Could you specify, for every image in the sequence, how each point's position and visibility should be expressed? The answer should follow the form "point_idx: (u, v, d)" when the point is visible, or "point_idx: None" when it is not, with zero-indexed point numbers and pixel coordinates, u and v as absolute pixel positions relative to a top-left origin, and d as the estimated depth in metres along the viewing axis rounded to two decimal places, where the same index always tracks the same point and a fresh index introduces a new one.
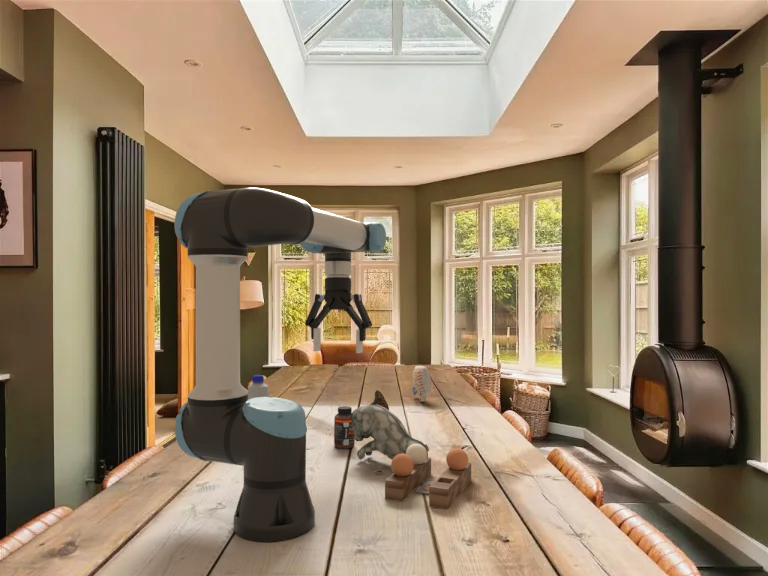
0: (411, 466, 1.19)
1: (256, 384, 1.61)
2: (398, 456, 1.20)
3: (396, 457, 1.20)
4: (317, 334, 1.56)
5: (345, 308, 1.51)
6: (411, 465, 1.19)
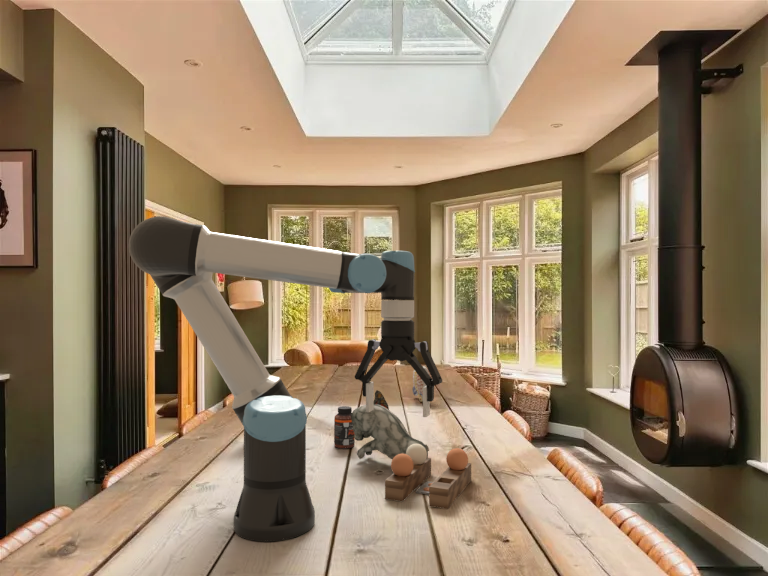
0: (411, 466, 1.19)
1: None
2: (398, 456, 1.20)
3: (396, 457, 1.20)
4: (370, 390, 1.25)
5: (408, 360, 1.20)
6: (411, 465, 1.19)
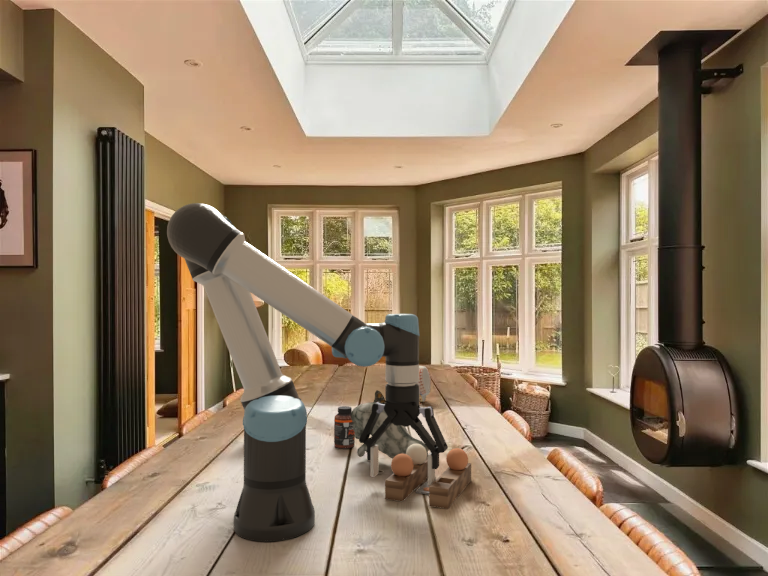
0: (411, 466, 1.19)
1: None
2: (398, 456, 1.20)
3: (396, 457, 1.20)
4: (375, 454, 1.23)
5: (413, 426, 1.18)
6: (411, 465, 1.19)
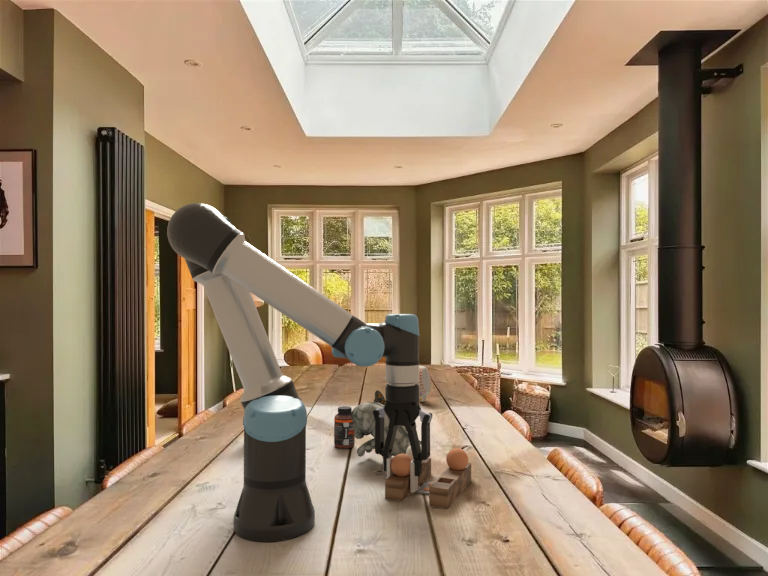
0: None
1: None
2: (398, 456, 1.20)
3: (396, 457, 1.20)
4: None
5: (407, 428, 1.18)
6: None
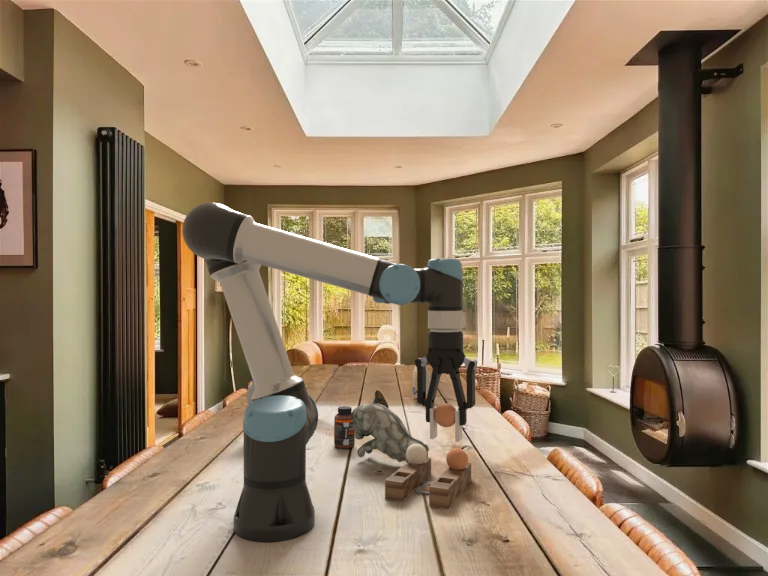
0: None
1: None
2: (442, 405, 1.16)
3: (440, 406, 1.16)
4: None
5: (452, 376, 1.15)
6: None
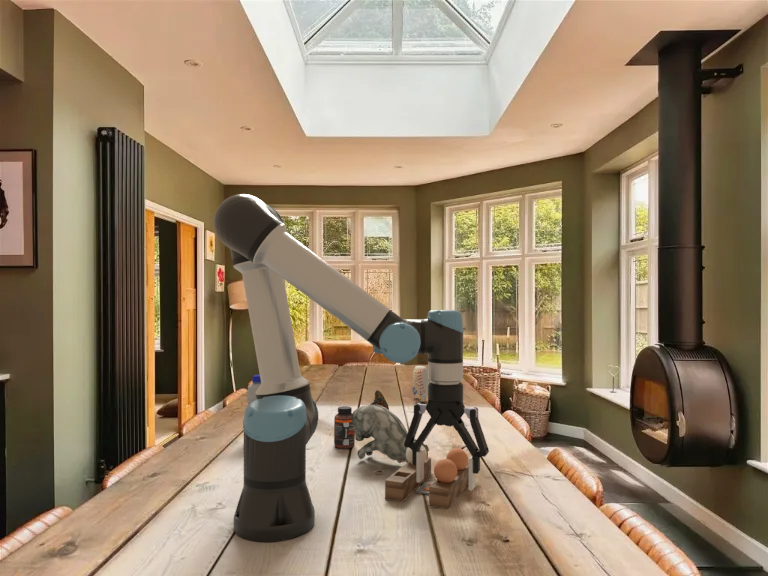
0: (455, 472, 1.15)
1: (256, 384, 1.61)
2: (442, 462, 1.16)
3: (439, 463, 1.16)
4: (421, 459, 1.18)
5: (456, 427, 1.14)
6: (455, 471, 1.15)
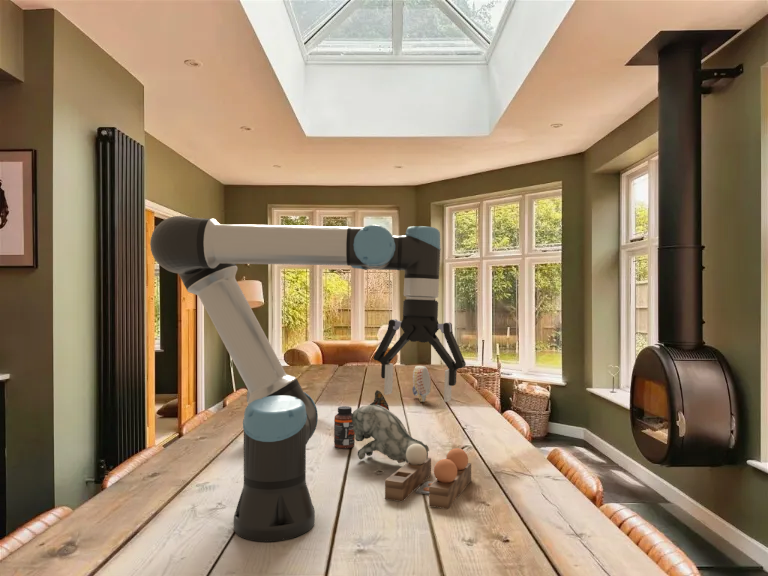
0: (455, 472, 1.15)
1: None
2: (442, 462, 1.16)
3: (439, 463, 1.16)
4: (389, 372, 1.19)
5: (431, 341, 1.14)
6: (455, 471, 1.15)
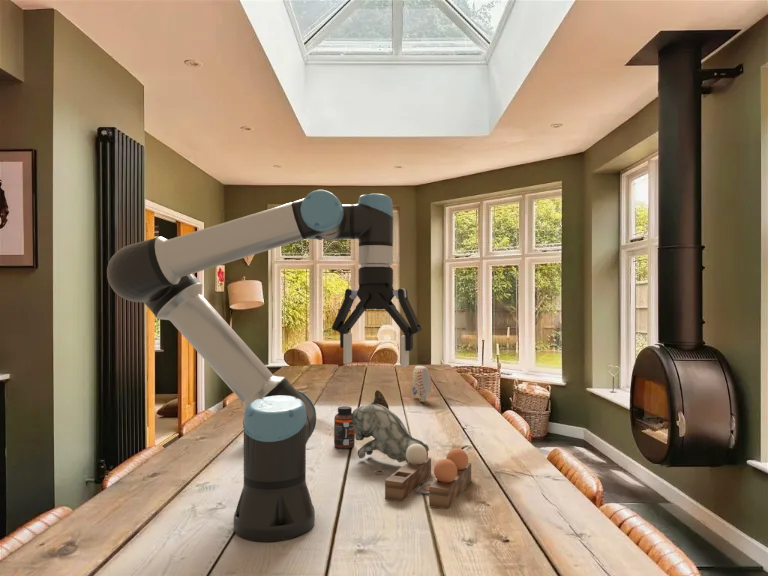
0: (455, 472, 1.15)
1: None
2: (442, 462, 1.16)
3: (439, 463, 1.16)
4: (348, 341, 1.20)
5: (386, 307, 1.15)
6: (455, 471, 1.15)
